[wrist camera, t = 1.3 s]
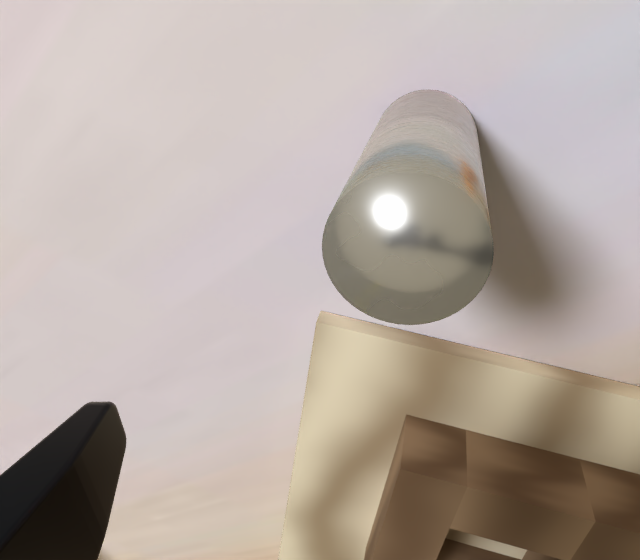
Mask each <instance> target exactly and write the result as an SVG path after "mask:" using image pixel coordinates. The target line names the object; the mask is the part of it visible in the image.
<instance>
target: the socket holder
mask: <svg viewBox="0 0 640 560" xmlns="http://www.w3.org/2000/svg"><path fill="white" fill-rule="evenodd" d="M278 560H640V387H639V386H634V385H630V384H626V383H622V382H618V381H613V380H609V379H605V378H601V377H597V376H592V375H588V374H584V373H580V372H576V371H572V370H567V369H563V368H559V367H555V366H551V365H546V364H542V363H538V362H534V361H530V360H525V359H521V358H517V357H513V356H509V355H504V354H500V353H496V352H492V351H488V350H483V349H479V348H475V347H471V346H467V345H462V344H458V343H454V342H450V341H446V340H441V339H437V338H433V337H429V336H425V335H420V334H416V333H412V332H408V331H404V330H399V329H395V328H391V327H387V326H383V325H379V324H374V323H370V322H366V321H362V320H358V319H353V318H349V317H345V316H341V315H337V314H332V313H328V312H324V311H321V312H320V314H319V317H318V319H317V322H316V328H315V334H314V340H313V346H312V353H311V359H310V365H309V371H308V377H307V384H306V390H305V396H304V402H303V408H302V415H301V421H300V427H299V433H298V439H297V446H296V452H295V458H294V464H293V470H292V477H291V483H290V489H289V495H288V501H287V508H286V514H285V520H284V526H283V532H282V539H281V545H280V551H279V557H278Z"/></svg>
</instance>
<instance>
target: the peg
mask: <svg viewBox="0 0 640 560" xmlns="http://www.w3.org/2000/svg"><path fill="white" fill-rule="evenodd" d="M322 252H323V259H324V264H325V267H326V270H327V273H328V275H329V277H330V279H331V281H332V283H333V284H334V286H335V287H336V289H337V290H338V291H339V293H340V294H341V295H342V296H343V297H344V298H345V299H346V300H347V301H348V302H349V303H350V304H351V305H353V306H354V307H356V308H357V309H358V310H360V311H362V312H364V313H365V314H367V315H369V316H371V317H374V318H376V319H379V320H382V321H386V322H390V323H395V324H405V325H415V324H425V323H430V322H434V321H438V320H441V319H443V318H446V317H449V316H451V315H452V314H454V313H456V312H458V311H459V310H461V309H462V308H464V307H465V306H466V305H467V304H469V303H470V302H471V301H472V300H473V299H474V298H475V297H476V295H477V294H478V293H479V292H480V291H481V289H482V287H483V286H484V284H485V282H486V280H487V278H488V276H489V273H490V270H491V266H492V261H493V239H492V232H491V225H490V218H489V211H488V204H487V197H486V190H485V183H484V176H483V169H482V162H481V155H480V149H479V142H478V135H477V129H476V124H475V122H474V119H473V117H472V115H471V113H470V112H469V110H468V109H467V107H466V106H465V105H464V104H463V103H462V102H461V101H459V100H458V99H457V98H455V97H454V96H452V95H450V94H447V93H445V92H442V91H438V90H419V91H414V92H411V93H408V94H406V95H404V96H402V97H400V98H399V99H397V100H396V101H395V102H393V103H392V104H391V105H390V106H389V107H388V108H387V109H386V111H385V112H384V113H383V115H382V117H381V118H380V120H379V122H378V124H377V126H376V128H375V130H374V132H373V134H372V135H371V137H370V139H369V141H368V143H367V145H366V147H365V149H364V151H363V153H362V155H361V156H360V158H359V160H358V162H357V164H356V166H355V168H354V170H353V172H352V174H351V175H350V177H349V179H348V181H347V183H346V185H345V187H344V189H343V191H342V193H341V195H340V196H339V198H338V200H337V202H336V204H335V206H334V208H333V210H332V212H331V214H330V216H329V218H328V220H327V223H326V225H325V229H324V233H323V241H322Z"/></svg>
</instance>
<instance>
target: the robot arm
mask: <svg viewBox="0 0 640 560" xmlns="http://www.w3.org/2000/svg"><path fill="white" fill-rule="evenodd" d="M125 448H126V435H125V431H124V428H123V425H122V422H121V419H120V416H119V413H118V410H117V408H116V406H115V404H114V403H112V402H89V403H87V404H85V405H84V406H83V407H81V408H80V409H79V410H78V411H77V412H75V413H74V414H73V415H72V416H71V417H69V418H68V419H67V420H66V421H65V422H64V423H62V424H61V425H60V426H59V427H58V428H56V429H55V430H54V431H53V432H52V433H50V434H49V435H48V436H47V437H46V438H44V439H43V440H42V441H41V442H40V443H38V444H37V445H36V446H35V447H34V448H32V449H31V450H30V451H29V452H28V453H26V454H25V455H24V456H23V457H22V458H20V459H19V460H18V461H17V462H16V463H14V464H13V465H12V466H11V467H10V468H8V469H7V470H6V471H5V472H4V473H2V474H1V475H0V560H97V559H98V556H99V553H100V550H101V547H102V544H103V541H104V537H105V534H106V530H107V526H108V522H109V518H110V514H111V509H112V505H113V501H114V496H115V492H116V488H117V483H118V479H119V475H120V470H121V466H122V462H123V457H124V453H125Z"/></svg>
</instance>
